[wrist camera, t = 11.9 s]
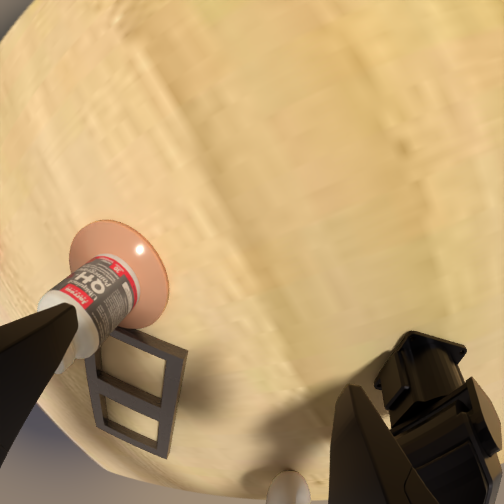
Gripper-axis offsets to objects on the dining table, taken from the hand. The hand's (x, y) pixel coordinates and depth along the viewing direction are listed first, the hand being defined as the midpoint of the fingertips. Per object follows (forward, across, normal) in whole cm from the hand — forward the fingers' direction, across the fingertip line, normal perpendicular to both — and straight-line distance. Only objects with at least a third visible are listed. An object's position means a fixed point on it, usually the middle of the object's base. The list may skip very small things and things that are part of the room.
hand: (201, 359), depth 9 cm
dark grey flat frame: (+13, +10, +24) cm, 29 cm away
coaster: (+14, +11, +8) cm, 19 cm away
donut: (+12, -12, +32) cm, 36 cm away
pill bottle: (+13, +10, +8) cm, 19 cm away
